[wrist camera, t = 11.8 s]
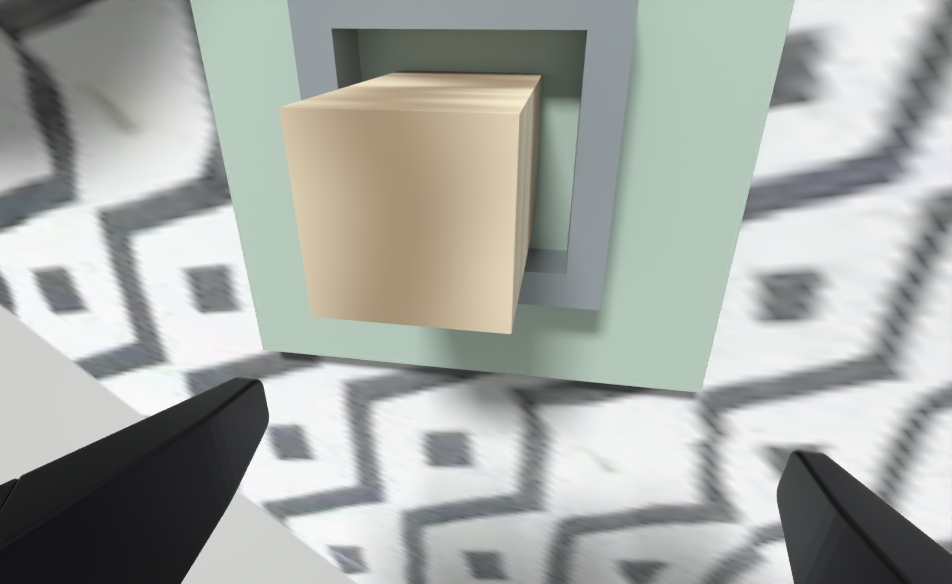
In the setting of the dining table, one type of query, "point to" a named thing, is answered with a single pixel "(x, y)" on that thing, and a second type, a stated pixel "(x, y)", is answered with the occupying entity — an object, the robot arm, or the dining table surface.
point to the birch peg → (417, 196)
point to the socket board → (559, 167)
